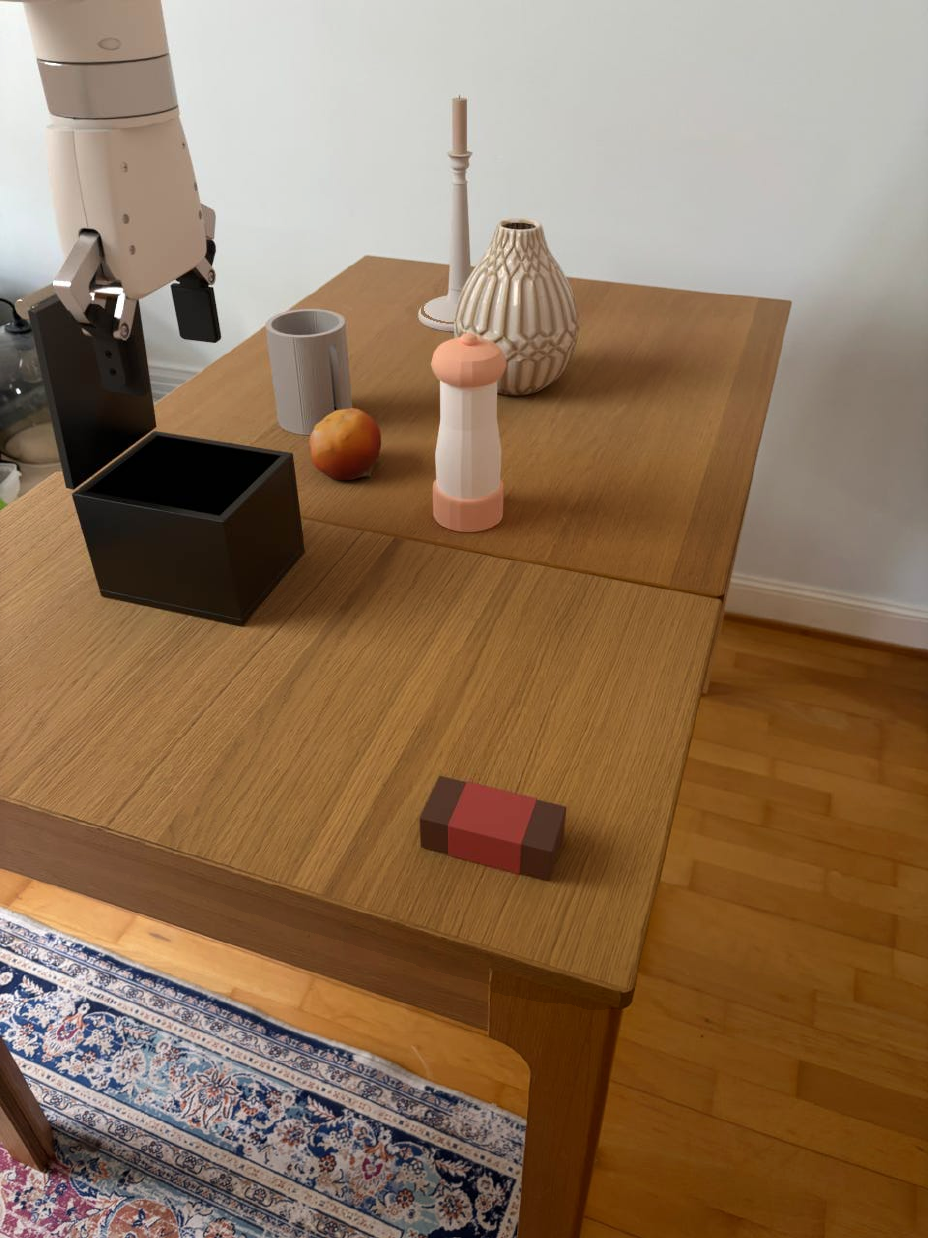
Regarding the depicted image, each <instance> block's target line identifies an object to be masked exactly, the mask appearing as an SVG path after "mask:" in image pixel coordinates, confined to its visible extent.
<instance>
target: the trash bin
mask: <svg viewBox="0 0 928 1238" xmlns="http://www.w3.org/2000/svg"><path fill="white" fill-rule="evenodd" d="M71 498H72V500H73V503H74V507H75V511H76V515H77V518H78V522H79V524H80V528H81V532H82V535H83V539H84V542H85V545H86V549H87V552H88V556H89V559H90V563H91V566H92V570H93V573H94V576H95V581H96V583H97V587H98V589H99V593H100V596H101V597H102V598H108V599H112V600H117V601H120V602H126V603H131V604H135V605H140V606H145V607H149V608H155V609H158V610H164V611H167V612H168V611H169V612H173V613H176V614H177V613H178V614H182V615H187V616H192V617H196V618H200V619H205V620H211V621H215V622H219V623H225V624H229V625H233V626H238V627H243V626H244V625H245V624H246V623H247V622H248V621H249V619H250V618H251V617H252V616H253V615H254V614H255V612H256V611H257V610H258V609H259V608H260V606H261V605H262V604H263V603H264V601H265V600H266V599H267V598H268V597H269V595H271V593H272V592H273V591H274V590H275V588H276V587H277V586H278V585H279V584H280V583H281V581H282V580H283V579H284V578H285V577H286V576H287V574H288V573H289V572H290V570H291V569H292V568H294V566H295V564H297V562H298V561H299V560H300V559H301V557H302V556H303V555H304V554H305V553H306V549H305V541H304V540H305V539H304V533H303V532H304V531H303V523H302V515H301V509H300V508H301V507H300V499H299V492H298V484H297V476H296V469H295V460H294V454H293V452H288V451H281V450H276V449H271V448H264V447H258V446H251V445H245V444H238V443H232V442H226V441H220V440H214V439H208V438H202V437H195V436H190V435H189V436H188V435H182V434H176V433H170V432H164V431H159V430H158V431H157V430H152V431H151V432H150V433H149V434H147V435H146V436H145V437H143V438H142V439H141V440H139V441H138V442H137V443H136V444H134V445H133V447H130V448H129V450H126V451H125V452H124V454H123V453H122V454H121V455H120V457H119V456H118V457H117V459H116V460H113V461H112V462H111V463H109V464H108V465H107V467H106V466H105V467H104V469H103V470H102V469H101V470H100V471H99V473H96V475H94V476H92V477H91V478H90V479H88V480H87V481H86V482H84V483H83V485H82V486H81V485H80V486H79V487H78V489H75V491H73V492H72V493H71Z"/></svg>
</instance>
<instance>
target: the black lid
mask: <svg viewBox="0 0 928 1238" xmlns="http://www.w3.org/2000/svg"><path fill="white" fill-rule="evenodd" d="M53 283H54V282H52V283H50V284H48V285H46V286H44V287H41V288H40V289H37V290H36V291H34V292H31V293H29V294H27V295H25V296H23V297H21V298H19V299H17V300H16V301H15V302H14V310H15V311H16V314H17V315H18V316H19V317H20V318H22V319H23V320H26V321H28V320H29V323H30V329H31V332H32V337H33V342H34V347H35V351H36V356H37V360H38V361H37V362H38V365H39V371H40V374H41V378H42V384H43V389H44V393H45V397H46V402H47V405H48V406H47V407H48V411H49V416H50V420H51V425H52V430H53V435H54V440H55V444H56V448H57V453H58V458H59V462H60V467H61V471H62V475H63V481H64V485H65V488H66V489H69V490H72V491H74V490H77V488H79V487H81V485H82V484H85V483H86V482H87V481H89V480H90V479H91V478H93V477H94V476H95V474H98V472H100V471H102V469H103V468H106V466H108V465H110V464H111V463H112V462H114V461H115V459H116V458H117V459H118V458H119V456H121V455H123V453H125V452H127V451H128V449H131V448H132V446H135V445H136V444H137V443H139V442H140V441H141V440H142V439H144V438H145V437H146V436H148V435H149V434H150V433H152V432H153V431H154V430H155V429H156V428H157V427H158V426H157V421H156V414H155V413H156V412H155V406H154V398H153V397H154V396H153V390H152V384H151V378H150V376H151V375H150V371H149V370H150V369H149V363H148V354H147V349H146V340H145V335H144V334H145V333H144V328H143V327H144V326H143V318H142V313H141V305H140V299H138V300H137V303H136V308H135V313H134V318H133V323H132V328H131V333H130V334H131V335H138V337H139V340H140V345H141V349H142V354H143V358H144V363H145V368H146V372H147V377H148V382H149V386H150V391H149V392H148V393H147V394H146V395H144V396H137V395H129V394H122V393H115V392H109V391H107V390H106V389H105V388H104V385H103V381H102V377H101V373H100V369H99V365H98V361H97V357H96V353H95V349H94V345H93V341H92V337H91V336H86V335H85V334H84V333H83V330H82V327H80V326H79V325H78V324H76V323H75V322H73V321H72V320H71V318H70V316H69V311H68V310H67V309H66V307H65V306H64V305H63V303H62V302H61V300H60V299H59V297H58V296H57V294H56V293H55V291H54V288H53ZM109 285H111V286H121V287H122V284H121V283H120V282H113V283H111V284H109ZM116 306H117V301H113V300H106V304H105V310H107V311H108V312H109V313H110V314H112V315H113V316H115V311H116Z"/></svg>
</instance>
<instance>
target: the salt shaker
mask: <svg viewBox="0 0 928 1238" xmlns="http://www.w3.org/2000/svg"><path fill="white" fill-rule="evenodd" d="M430 367H431V369H432V372H433V373H434V375H435V377H436V379H437V380H438V381H439V413H440V414H439V416H440V417H439V418H440V420H439V427H438V434H437V440H436V446H435V452H434V459H435V462H434V463H435V477H436V478H435V479H434V481H433V483H432V484H433V485H432V517H433V519H434V521H435V522H436V523H437V524H438V525H440V526H441V527H444V528H446V529H447V530H450V531H456V532H459V533H475V532H483V531H486V530H490V529H492V528H494V527H495V526H497V525H498V524H499V523H500V522H501V521H502V520H503V517H504V493H505V492H504V487H505V485H504V482H503V481H502V479H501V468H502V455H503V454H502V451H503V450H502V446H501V445H502V444H501V439H500V430H499V425H498V417H497V416H498V415H497V414H498V411H497V410H498V393H497V381H498V380H499V379H500V378H501V377H502V375H503V373H504V371H505V368H506V359H505V355H504V353H503V352H502V350H501V349H500V347H499V346H498V345H497V344H496V343H494V342H492V341H489V340H486V339H483V338H480V337H476V335H475V334H473V333H465V334H463V335H462V336H461V337H458V338H450V339H449V340H446V341H443V342H441V343H440V344H439V345H438V346H437V347H436V349H435V350H434V351H433V355H432V359H431V362H430Z"/></svg>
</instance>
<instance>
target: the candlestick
mask: <svg viewBox="0 0 928 1238" xmlns="http://www.w3.org/2000/svg"><path fill="white" fill-rule="evenodd" d="M458 95H459V96H458V97H454V98H451V105H452V106H451V112H452V113H451V116H452V117H451V119H452V120H451V121H452V122H451V123H452V124H451V125H452V126H451V127H452V128H451V129H452V138H451V139H452V140H451V141H452V150H451V151H447V152H446V155H447V156H448V157H449V158H450V162H449V163H450V164H449V165H450V168H451V169H452V173H453V180H452V181H451V182H452V183H451V184H452V192H451V193H452V195H451V196H452V197H451V200H452V201H451V219H450V221H451V222H450V243H449V244H450V245H449V246H450V249H449V271H448V272H449V273H448V285H447V286H448V291H447V295H443V296H438V297H436V298H433V299H431V300H429V301H428V303H427V302H425V304H426V305H425V304H424V305H425V306H424V311H425V313H426V314H427V315H429V316H430V317H432V318H434V319H437V320H441V321H445V322H454V317H455V312H456V308H457V304H458V300H459V297H460V294H461V292H462V289H463V287H464V285H465V283H466V281H467V279H468V277H469V276H470V274H471V273H472V266H471V247H470V246H471V245H470V222H469V221H470V220H469V203H468V202H469V201H468V181H467V179H466V176H467V175H466V174H467V169H468V168H469V167H470V158H471V156H473V152H472V151H468V98H466V97H461V94H458ZM421 308H422V306H421V307H420V308H419V310H418V313H417V318H418V320H419V322H420V323H422V325H424V326H427V327H428V328H430V329H434V330H438V331H442V332H443V331H444V332H453V333H454V324H446V323H440V322H436V321H433V320H430V319H428V318H426V317H424V316H423V315H422V314H421Z"/></svg>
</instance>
